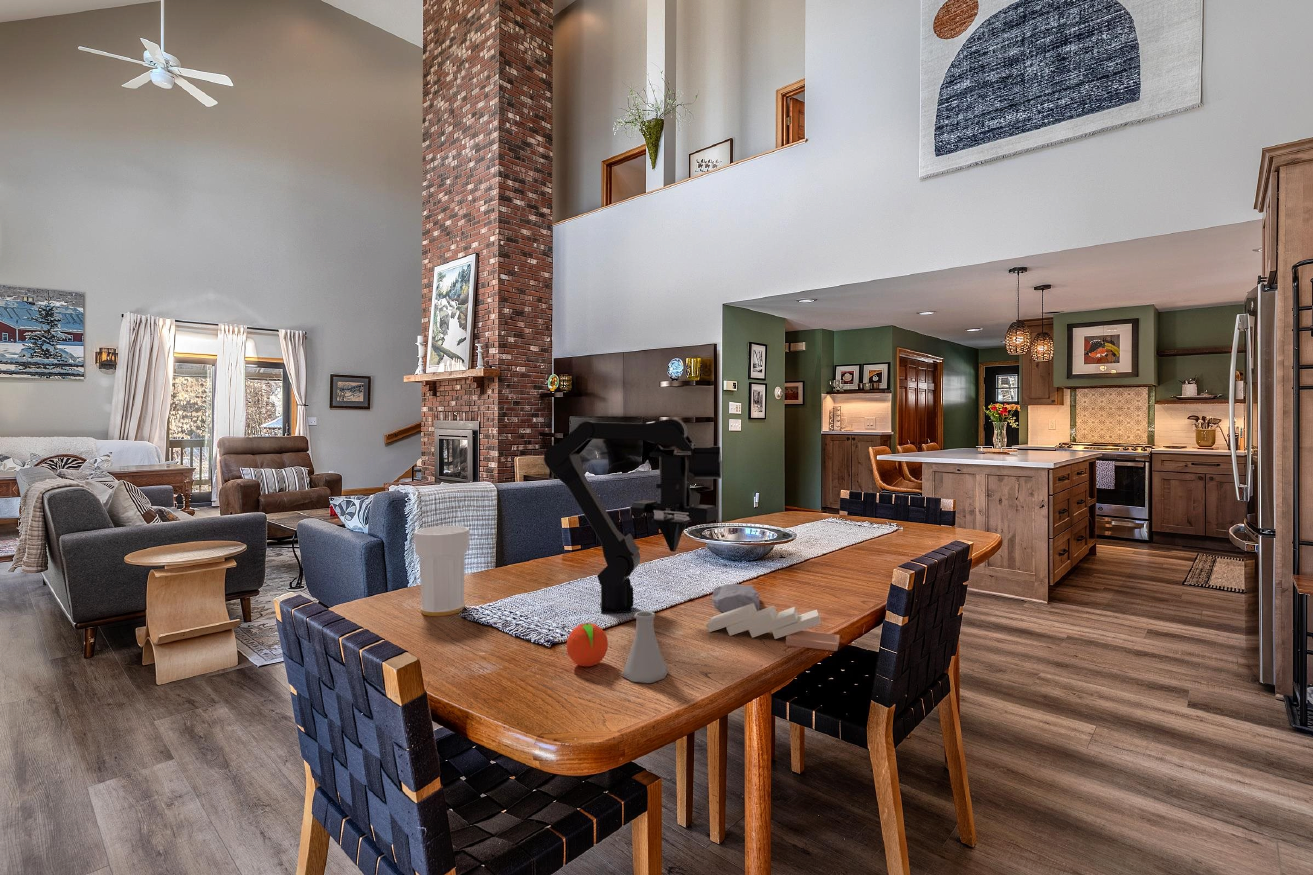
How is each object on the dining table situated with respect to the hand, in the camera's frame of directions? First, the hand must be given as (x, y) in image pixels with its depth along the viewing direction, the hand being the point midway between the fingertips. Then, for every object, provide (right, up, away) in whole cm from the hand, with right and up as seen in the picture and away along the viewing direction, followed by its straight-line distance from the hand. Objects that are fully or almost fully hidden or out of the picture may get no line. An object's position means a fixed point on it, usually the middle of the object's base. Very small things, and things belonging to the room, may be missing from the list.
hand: (673, 551), depth 135 cm
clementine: (-15, -14, -29) cm, 36 cm away
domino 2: (+11, -13, -12) cm, 21 cm away
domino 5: (+21, -13, -17) cm, 30 cm away
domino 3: (+15, -13, -14) cm, 24 cm away
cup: (-50, -13, +2) cm, 52 cm away
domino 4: (+19, -13, -15) cm, 27 cm away
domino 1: (+7, -13, -10) cm, 18 cm away
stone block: (+14, -13, +6) cm, 20 cm away
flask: (-5, -14, -33) cm, 36 cm away
